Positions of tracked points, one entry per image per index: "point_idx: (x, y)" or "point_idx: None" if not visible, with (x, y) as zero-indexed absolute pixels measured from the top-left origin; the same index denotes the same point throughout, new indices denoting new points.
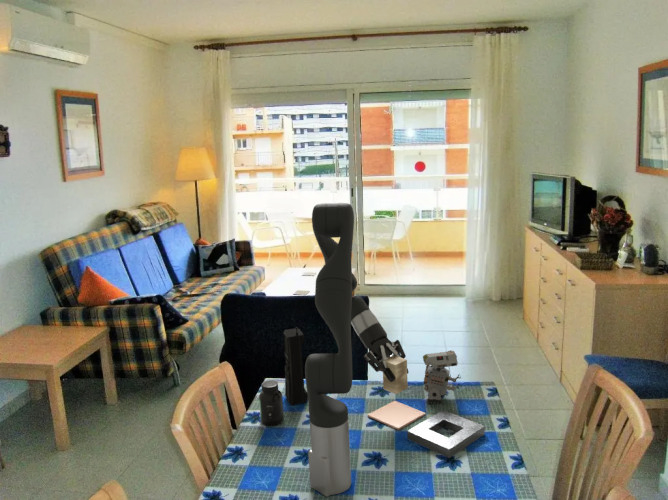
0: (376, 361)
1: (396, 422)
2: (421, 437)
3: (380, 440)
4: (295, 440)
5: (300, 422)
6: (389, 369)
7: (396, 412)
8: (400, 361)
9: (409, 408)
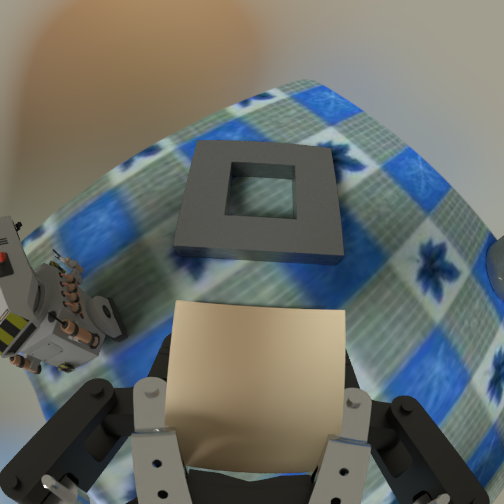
0: (435, 443)
1: None
2: (339, 211)
3: (386, 313)
4: (480, 438)
5: None
6: None
7: None
8: (249, 325)
9: None
